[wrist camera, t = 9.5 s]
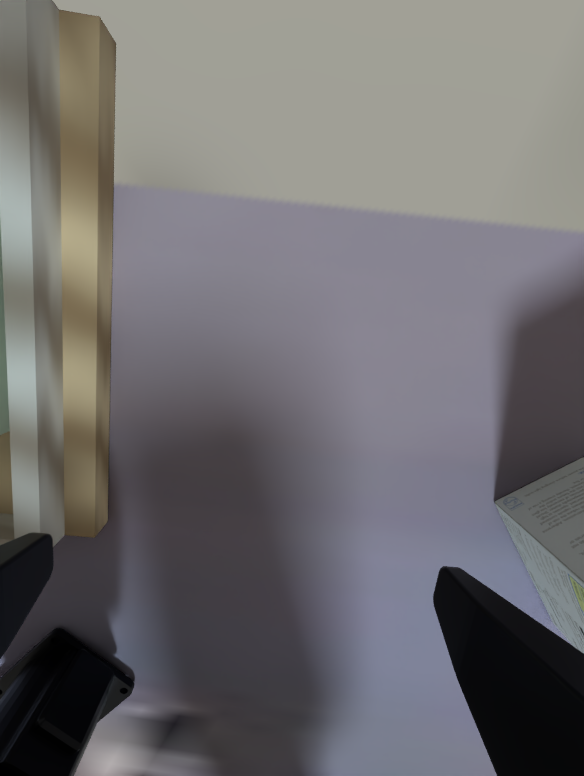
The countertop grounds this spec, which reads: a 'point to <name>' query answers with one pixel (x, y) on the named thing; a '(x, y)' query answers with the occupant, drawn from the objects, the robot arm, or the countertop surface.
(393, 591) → the countertop surface
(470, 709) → the robot arm
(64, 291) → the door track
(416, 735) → the countertop surface
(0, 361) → the door panel
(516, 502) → the light bulb box
